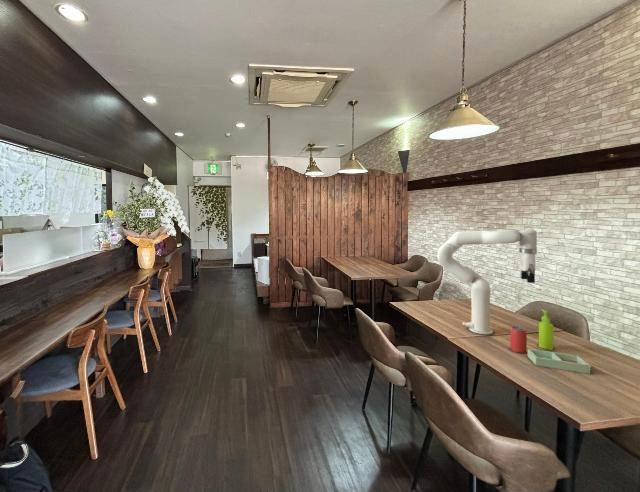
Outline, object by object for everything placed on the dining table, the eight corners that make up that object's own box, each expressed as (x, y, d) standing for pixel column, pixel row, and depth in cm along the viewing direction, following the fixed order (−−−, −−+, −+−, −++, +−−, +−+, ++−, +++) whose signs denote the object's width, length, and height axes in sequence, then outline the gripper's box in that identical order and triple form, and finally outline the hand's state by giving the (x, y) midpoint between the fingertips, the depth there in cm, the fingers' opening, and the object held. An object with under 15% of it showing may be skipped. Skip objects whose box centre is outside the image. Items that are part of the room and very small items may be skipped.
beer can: (529, 354, 148) (529, 331, 148) (515, 353, 150) (515, 330, 149) (521, 348, 155) (521, 326, 155) (507, 347, 156) (507, 325, 156)
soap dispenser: (548, 345, 159) (548, 309, 158) (555, 350, 152) (555, 313, 152) (535, 343, 161) (535, 308, 160) (542, 349, 154) (542, 312, 154)
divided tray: (535, 365, 138) (535, 357, 137) (527, 355, 147) (527, 348, 147) (590, 373, 130) (590, 365, 130) (577, 363, 139) (577, 355, 139)
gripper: (514, 249, 175) (514, 277, 175) (525, 252, 159) (524, 283, 160) (530, 249, 172) (530, 278, 172) (542, 253, 156) (542, 284, 156)
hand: (527, 280), depth 166 cm, fingers open, 9 cm apart
